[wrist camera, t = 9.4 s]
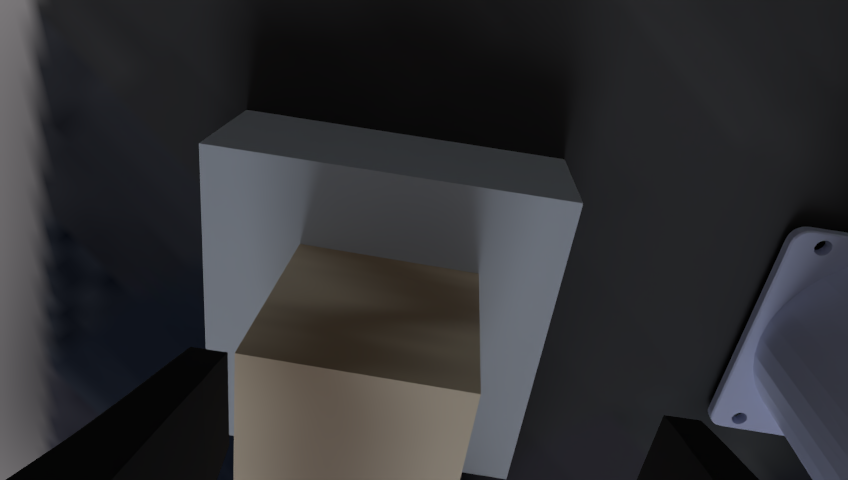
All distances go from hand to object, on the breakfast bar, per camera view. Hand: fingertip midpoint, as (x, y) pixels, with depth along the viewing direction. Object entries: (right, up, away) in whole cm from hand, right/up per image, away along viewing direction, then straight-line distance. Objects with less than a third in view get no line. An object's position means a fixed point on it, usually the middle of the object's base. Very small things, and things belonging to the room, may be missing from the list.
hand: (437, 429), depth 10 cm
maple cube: (-2, 0, +8) cm, 8 cm away
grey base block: (-1, +2, +11) cm, 12 cm away
